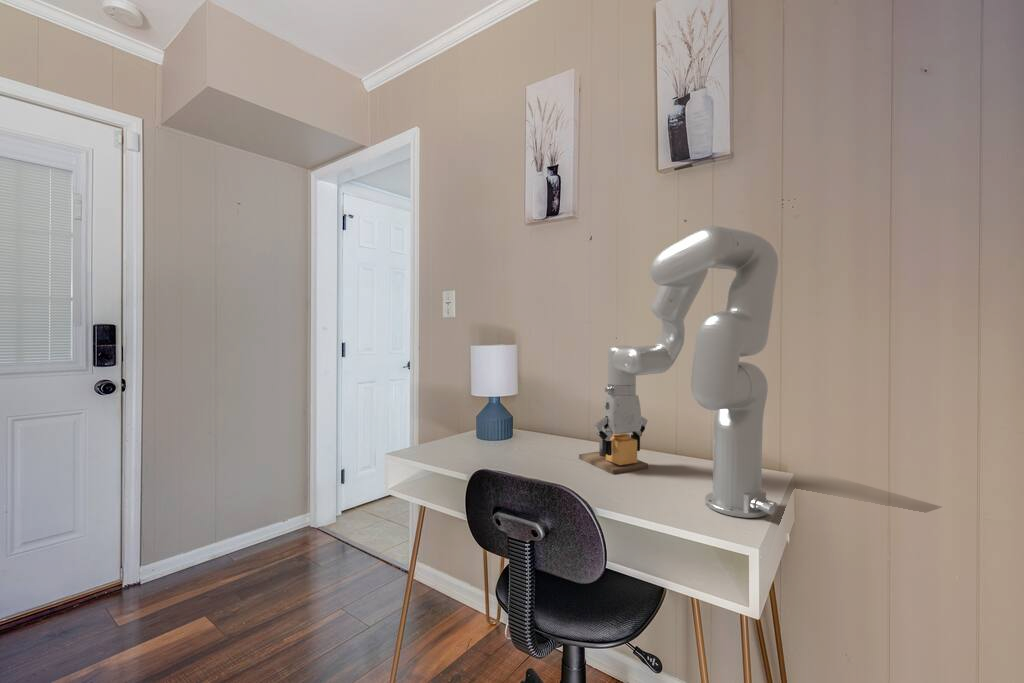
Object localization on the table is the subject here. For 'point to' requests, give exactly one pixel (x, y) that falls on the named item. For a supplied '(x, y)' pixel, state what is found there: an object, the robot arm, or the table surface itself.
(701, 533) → the table surface
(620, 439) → the knobbed tan cube
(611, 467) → the post board
